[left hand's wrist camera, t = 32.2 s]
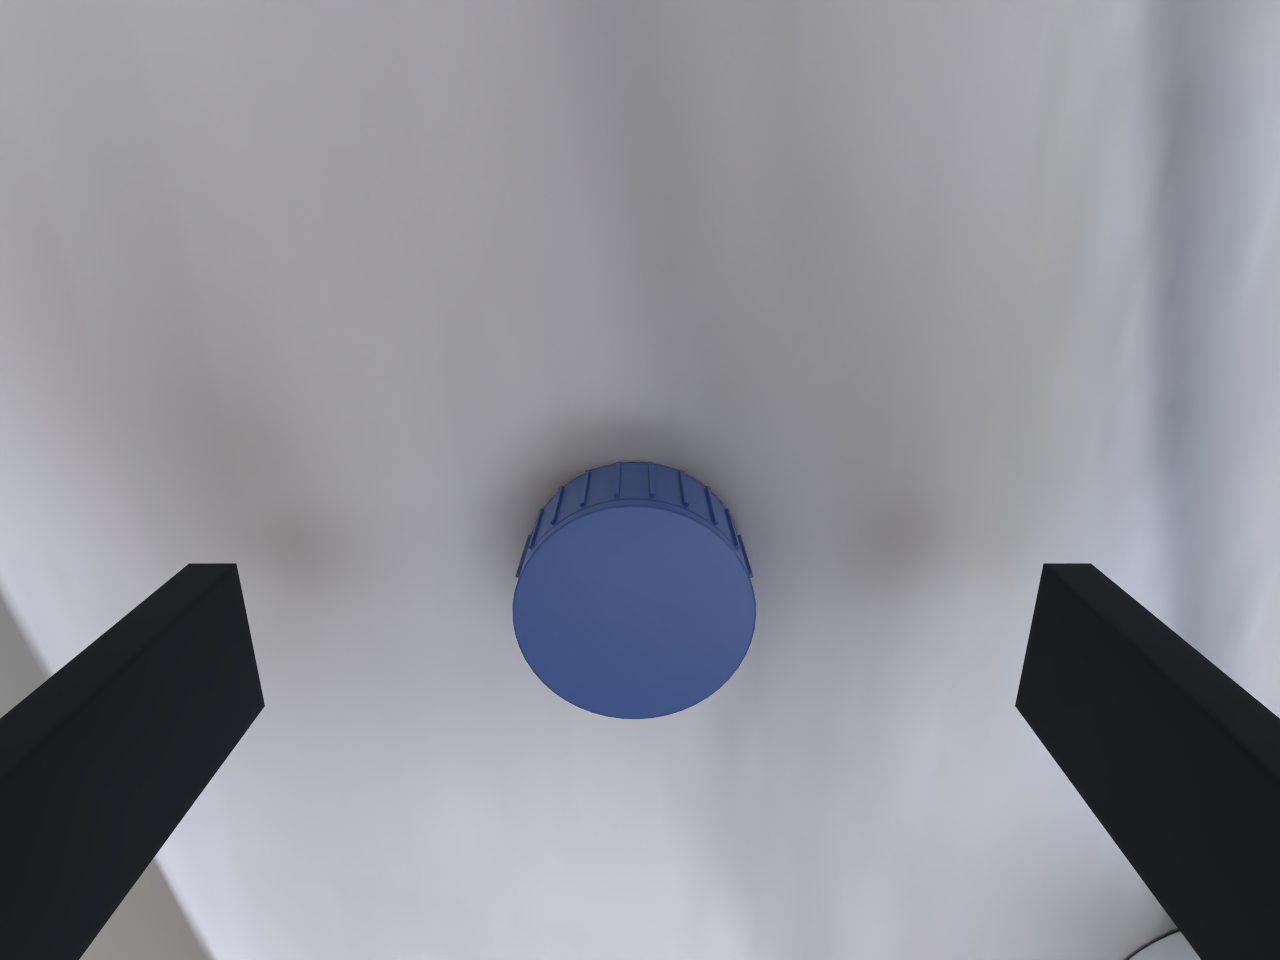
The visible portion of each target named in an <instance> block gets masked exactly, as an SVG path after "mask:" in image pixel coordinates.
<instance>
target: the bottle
mask: <svg viewBox="0 0 1280 960" xmlns="http://www.w3.org/2000/svg"><path fill="white" fill-rule="evenodd" d="M1129 960H1201V959H1200V958H1199V956H1198V955H1197V953H1196V952H1195V951H1194V949H1193V948H1192V947H1191V945H1190V944H1189V943H1188V941H1187V940H1186V938H1185V937H1184V936H1183V934H1182V933H1181V932H1180V931H1179V932H1176V933H1174V934H1171V935H1169V936H1167V937H1165V938H1163V939H1161V940H1159V941H1156V942H1154V943H1153V944H1151V945H1149V946H1148V947H1146V948H1144V949H1143V950H1141V951H1140V952H1138V953H1137V954H1136V955H1134V956H1133V957H1132V958H1130V959H1129Z"/></svg>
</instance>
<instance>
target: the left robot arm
mask: <svg viewBox="0 0 1280 960" xmlns="http://www.w3.org/2000/svg"><path fill="white" fill-rule="evenodd" d="M264 706H265V705H264V700H263V695H262V690H261V685H260V680H259V675H258V670H257V665H256V660H255V654H254V649H253V644H252V639H251V634H250V629H249V624H248V619H247V614H246V609H245V604H244V599H243V594H242V589H241V584H240V579H239V574H238V569H237V564H188V565H187V566H186V567H184V568H183V569H182V570H181V571H180V572H178V573H177V574H176V575H175V576H173V577H172V578H171V579H170V580H169V581H167V582H166V583H165V584H164V585H162V586H161V587H160V588H159V589H158V590H156V591H155V592H154V593H153V594H152V595H150V596H149V597H148V598H147V599H145V600H144V601H143V602H142V603H141V604H139V605H138V606H137V607H136V608H134V609H133V610H132V611H131V612H130V613H128V614H127V615H126V616H125V617H124V618H122V619H121V620H120V621H119V622H117V623H116V624H115V625H114V626H113V627H111V628H110V629H109V630H108V631H106V632H105V633H104V634H103V635H102V636H100V637H99V638H98V639H97V640H96V641H94V642H93V643H92V644H91V645H89V646H88V647H87V648H86V649H85V650H83V651H82V652H81V653H80V654H78V655H77V656H76V657H75V658H74V659H72V660H71V661H70V662H69V663H68V664H66V665H65V666H64V667H63V668H61V669H60V670H59V671H58V672H57V673H55V674H54V675H53V676H52V677H50V678H49V679H48V680H47V681H46V682H44V683H43V684H42V685H41V686H40V687H38V688H37V689H36V690H35V691H33V692H32V693H31V694H30V695H29V696H27V697H26V698H25V699H24V700H23V701H21V702H20V703H19V704H18V705H16V706H15V707H14V708H13V709H12V710H10V711H9V712H8V713H7V714H5V715H4V716H3V717H2V718H1V719H0V960H79V959H80V958H81V956H82V955H83V953H84V952H85V951H86V949H87V948H88V947H89V945H90V944H91V943H92V941H93V940H94V938H95V937H96V936H97V934H98V933H99V932H100V930H101V929H102V928H103V926H104V925H105V923H106V922H107V921H108V919H109V918H110V917H111V915H112V914H113V913H114V911H115V910H116V908H117V907H118V906H119V904H120V903H121V902H122V900H123V899H124V897H125V896H126V895H127V893H128V892H129V891H130V889H131V888H132V887H133V885H134V884H135V882H136V881H137V880H138V878H139V877H140V876H141V874H142V873H143V871H144V870H145V869H146V867H147V866H148V865H149V863H150V862H151V861H152V859H153V858H154V857H155V855H156V854H157V852H158V851H159V850H160V848H161V847H162V846H163V844H164V843H165V841H166V840H167V839H168V837H169V836H170V835H171V833H172V832H173V831H174V829H175V828H176V826H177V825H178V824H179V822H180V821H181V820H182V818H183V817H184V816H185V814H186V813H187V811H188V810H189V809H190V807H191V806H192V805H193V803H194V802H195V800H196V799H197V798H198V796H199V795H200V794H201V792H202V791H203V790H204V788H205V787H206V785H207V784H208V783H209V781H210V780H211V779H212V777H213V776H214V775H215V773H216V772H217V770H218V769H219V768H220V766H221V765H222V764H223V762H224V761H225V760H226V758H227V757H228V755H229V754H230V753H231V751H232V750H233V749H234V747H235V746H236V744H237V743H238V742H239V740H240V739H241V738H242V736H243V735H244V734H245V732H246V731H247V729H248V728H249V727H250V725H251V724H252V723H253V721H254V720H255V719H256V717H257V716H258V714H259V713H260V712H261V710H262V709H263V708H264ZM1015 706H1016V708H1017V709H1018V710H1019V712H1020V713H1021V714H1022V716H1023V717H1024V719H1025V720H1026V721H1027V723H1028V724H1029V725H1030V727H1031V728H1032V729H1033V731H1034V732H1035V734H1036V735H1037V736H1038V738H1039V739H1040V740H1041V742H1042V743H1043V744H1044V746H1045V747H1046V749H1047V750H1048V751H1049V753H1050V754H1051V755H1052V757H1053V758H1054V760H1055V761H1056V762H1057V764H1058V765H1059V766H1060V768H1061V769H1062V770H1063V772H1064V773H1065V775H1066V776H1067V777H1068V779H1069V780H1070V781H1071V783H1072V784H1073V785H1074V787H1075V788H1076V790H1077V791H1078V792H1079V794H1080V795H1081V796H1082V798H1083V799H1084V800H1085V802H1086V803H1087V805H1088V806H1089V807H1090V809H1091V810H1092V811H1093V813H1094V814H1095V816H1096V817H1097V818H1098V820H1099V821H1100V822H1101V824H1102V825H1103V826H1104V828H1105V829H1106V831H1107V832H1108V833H1109V835H1110V836H1111V837H1112V839H1113V840H1114V841H1115V843H1116V844H1117V846H1118V847H1119V848H1120V850H1121V851H1122V852H1123V854H1124V855H1125V856H1126V858H1127V859H1128V861H1129V862H1130V863H1131V865H1132V866H1133V867H1134V869H1135V870H1136V872H1137V873H1138V874H1139V876H1140V877H1141V878H1142V880H1143V881H1144V882H1145V884H1146V885H1147V887H1148V888H1149V889H1150V891H1151V892H1152V893H1153V895H1154V896H1155V897H1156V899H1157V900H1158V902H1159V903H1160V904H1161V906H1162V907H1163V908H1164V910H1165V911H1166V913H1167V914H1168V915H1169V917H1170V918H1171V919H1172V921H1173V922H1174V923H1175V925H1176V926H1177V928H1178V929H1179V930H1180V932H1181V933H1182V934H1183V936H1184V937H1185V938H1186V940H1187V941H1188V943H1189V944H1190V945H1191V947H1192V948H1193V949H1194V951H1195V952H1196V953H1197V955H1198V956H1199V958H1200V959H1201V960H1280V719H1279V718H1278V717H1277V716H1276V715H1275V714H1273V713H1272V712H1271V711H1270V710H1269V709H1267V708H1266V707H1265V706H1264V705H1262V704H1261V703H1260V702H1259V701H1258V700H1256V699H1255V698H1254V697H1253V696H1251V695H1250V694H1249V693H1248V692H1247V691H1245V690H1244V689H1243V688H1242V687H1240V686H1239V685H1238V684H1237V683H1236V682H1234V681H1233V680H1232V679H1231V678H1230V677H1228V676H1227V675H1226V674H1225V673H1223V672H1222V671H1221V670H1220V669H1219V668H1217V667H1216V666H1215V665H1214V664H1212V663H1211V662H1210V661H1209V660H1208V659H1206V658H1205V657H1204V656H1203V655H1202V654H1200V653H1199V652H1198V651H1197V650H1195V649H1194V648H1193V647H1192V646H1191V645H1189V644H1188V643H1187V642H1186V641H1184V640H1183V639H1182V638H1181V637H1180V636H1178V635H1177V634H1176V633H1175V632H1174V631H1172V630H1171V629H1170V628H1169V627H1167V626H1166V625H1165V624H1164V623H1163V622H1161V621H1160V620H1159V619H1158V618H1156V617H1155V616H1154V615H1153V614H1152V613H1150V612H1149V611H1148V610H1147V609H1146V608H1144V607H1143V606H1142V605H1141V604H1139V603H1138V602H1137V601H1136V600H1135V599H1133V598H1132V597H1131V596H1130V595H1128V594H1127V593H1126V592H1125V591H1124V590H1122V589H1121V588H1120V587H1119V586H1118V585H1116V584H1115V583H1114V582H1113V581H1111V580H1110V579H1109V578H1108V577H1107V576H1105V575H1104V574H1103V573H1102V572H1100V571H1099V570H1098V569H1097V568H1096V567H1094V566H1093V565H1092V564H1043V569H1042V574H1041V579H1040V584H1039V589H1038V594H1037V599H1036V604H1035V609H1034V614H1033V619H1032V624H1031V629H1030V634H1029V639H1028V644H1027V650H1026V655H1025V660H1024V665H1023V670H1022V675H1021V680H1020V685H1019V690H1018V695H1017V700H1016V705H1015Z"/></svg>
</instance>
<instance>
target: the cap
mask: <svg viewBox="0 0 1280 960" xmlns="http://www.w3.org/2000/svg"><path fill="white" fill-rule="evenodd" d="M516 577H518V578H519V579H518V582H517V586H516V589H515V593H514V600H513V623H514V629H515V635H516V638H517V641H518V644H519V647H520V649H521V651H522V653H523V655H524V657H525V660H526V661H527V663H528V664H529V666H530V667H531V669H532V670H533V672H534V673H535V674H536V675H537V676H538V677H539V679H540V680H541V681H542V682H543V683H544V684H545V685H546V686H547V687H548V688H550V689H551V690H552V691H553V692H554V693H556V694H557V695H559V696H560V697H562V698H563V699H564V700H566V701H568V702H570V703H572V704H574V705H575V706H577V707H579V708H582V709H585V710H587V711H590V712H592V713H596V714H600V715H604V716H608V717H615V718H622V719H645V718H654V717H660V716H665V715H669V714H672V713H676V712H679V711H682V710H684V709H686V708H689V707H691V706H693V705H695V704H697V703H699V702H701V701H702V700H704V699H706V698H707V697H709V696H710V695H711V694H713V693H714V692H715V691H717V690H718V689H719V688H720V687H721V686H722V685H723V684H724V683H725V682H726V681H728V680H729V678H730V677H731V676H732V675H733V673H734V672H735V671H736V670H737V668H738V667H739V665H740V664H741V662H742V660H743V658H744V657H745V655H746V653H747V650H748V648H749V646H750V643H751V640H752V636H753V632H754V628H755V619H756V603H755V596H754V591H753V586H752V583H751V580H750V578H751V577H753V574H752V571H751V568H750V564H749V561H748V558H747V555H746V551H745V548H744V545H743V542H742V538H741V535H737V533H736V530H735V527H734V524H733V520H732V517H731V513H730V511H729V509H728V508H727V509H725V508H724V507H723V505H722V504H721V502H720V501H719V500H718V499H717V498H716V497H715V496H714V495H713V494H712V493H711V490H710V488H709V487H708V486H707V487H704V486H703V485H702V484H701V483H699V482H698V481H696V480H695V479H693V478H691V477H690V476H688V475H686V474H684V471H681V470H680V471H677V470H675V469H671V468H668V467H664V466H661V465H655V464H653V462H649V463H633V462H631V463H621V462H616V464H614V465H609V466H604V467H601V468H598V469H595V470H592V471H589V470H588V471H586V472H585V474H584V475H582V476H580V477H578V478H576V479H575V480H573V481H572V482H570V483H569V484H567V485H566V486H565V487H562V486H561V487H560V488H559V490H558V493H557V494H556V495H555V496H554V497H553V498H552V499H551V500H550V502H549V503H548V504H547V505H546V507H545V508H544V510H543V509H542V508H541V509H540V511H539V514H538V517H537V520H536V524H535V527H534V530H533V533H532V535H529V536H528V539H527V542H526V545H525V548H524V551H523V554H522V557H521V561H520V564H519V567H518V570H517V573H516Z"/></svg>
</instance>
